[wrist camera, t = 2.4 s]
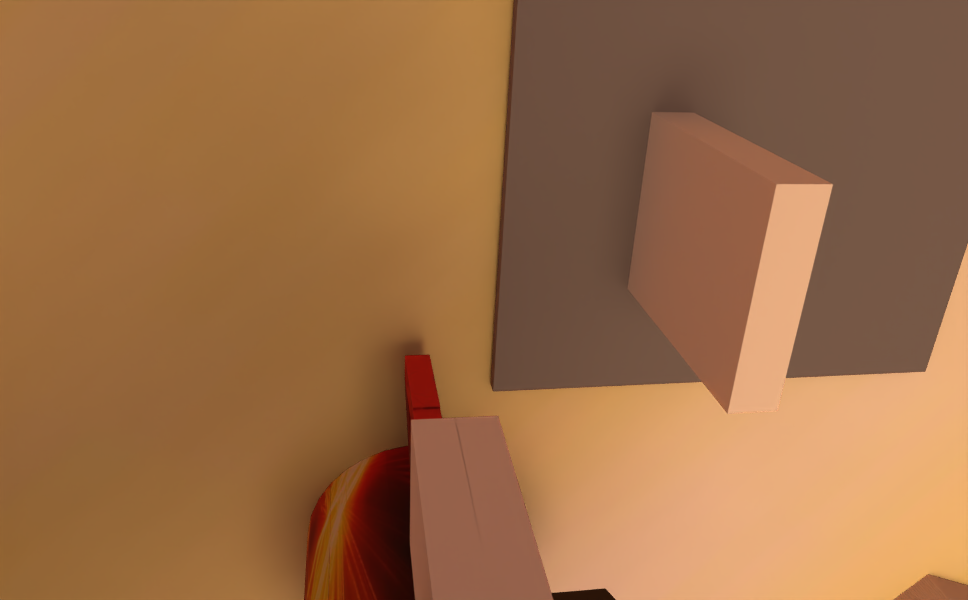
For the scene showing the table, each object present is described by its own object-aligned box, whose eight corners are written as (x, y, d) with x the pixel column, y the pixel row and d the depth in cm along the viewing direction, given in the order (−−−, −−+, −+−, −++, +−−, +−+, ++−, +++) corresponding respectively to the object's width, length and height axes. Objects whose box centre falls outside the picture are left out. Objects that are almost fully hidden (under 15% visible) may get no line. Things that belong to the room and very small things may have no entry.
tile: (627, 288, 31) (727, 413, 23) (652, 111, 28) (776, 184, 20) (669, 287, 31) (781, 410, 23) (697, 112, 28) (838, 184, 20)
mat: (490, 383, 33) (493, 391, 32) (515, -31, 26) (519, -30, 25) (916, 365, 36) (925, 371, 35) (1037, -7, 29) (1049, -5, 29)
